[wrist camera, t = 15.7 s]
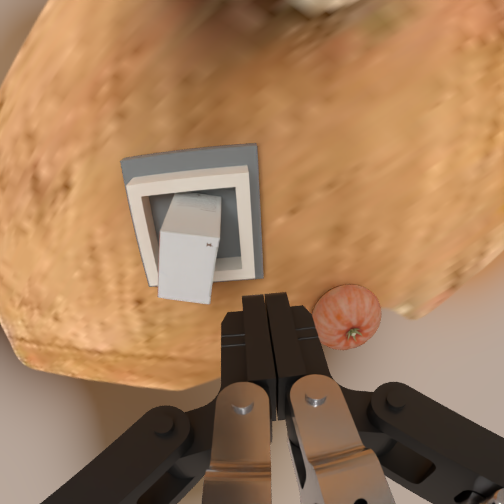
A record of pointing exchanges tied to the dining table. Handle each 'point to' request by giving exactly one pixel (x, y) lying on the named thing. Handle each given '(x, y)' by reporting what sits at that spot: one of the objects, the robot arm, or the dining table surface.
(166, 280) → the small box
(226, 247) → the socket board
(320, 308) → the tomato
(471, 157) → the dining table surface
